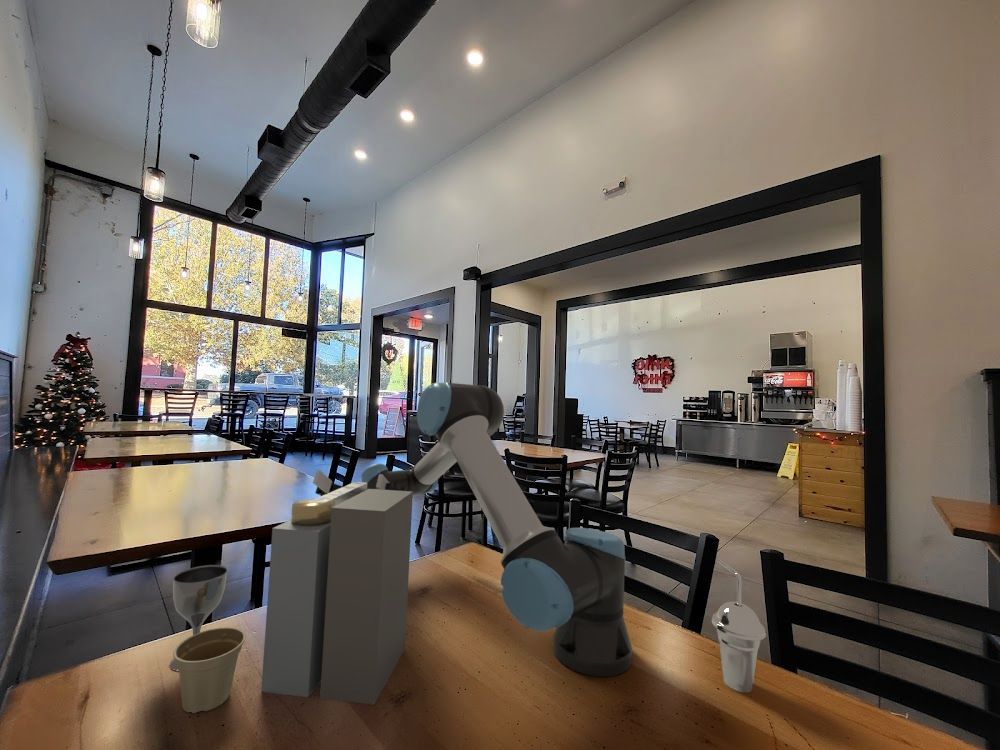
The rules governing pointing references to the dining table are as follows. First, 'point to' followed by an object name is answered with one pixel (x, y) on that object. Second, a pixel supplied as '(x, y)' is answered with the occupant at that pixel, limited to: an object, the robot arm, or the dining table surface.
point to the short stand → (296, 609)
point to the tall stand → (366, 594)
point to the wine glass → (198, 594)
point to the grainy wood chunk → (323, 505)
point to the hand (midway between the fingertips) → (347, 478)
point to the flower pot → (208, 667)
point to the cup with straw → (738, 639)
